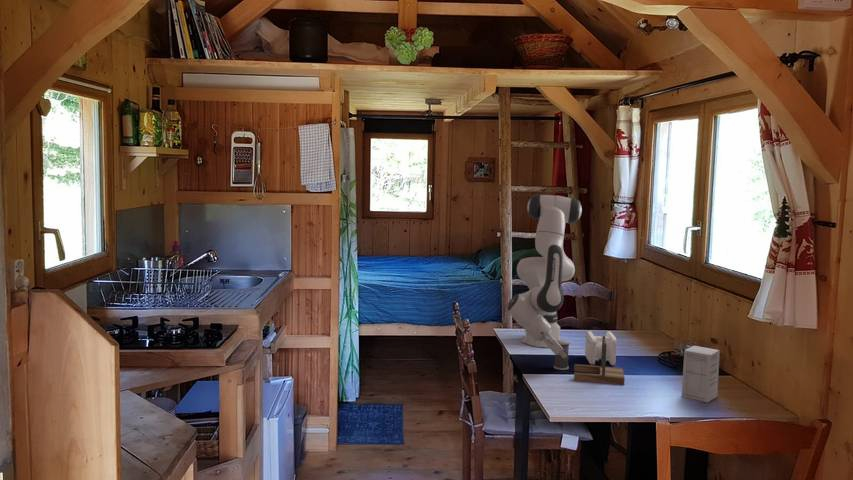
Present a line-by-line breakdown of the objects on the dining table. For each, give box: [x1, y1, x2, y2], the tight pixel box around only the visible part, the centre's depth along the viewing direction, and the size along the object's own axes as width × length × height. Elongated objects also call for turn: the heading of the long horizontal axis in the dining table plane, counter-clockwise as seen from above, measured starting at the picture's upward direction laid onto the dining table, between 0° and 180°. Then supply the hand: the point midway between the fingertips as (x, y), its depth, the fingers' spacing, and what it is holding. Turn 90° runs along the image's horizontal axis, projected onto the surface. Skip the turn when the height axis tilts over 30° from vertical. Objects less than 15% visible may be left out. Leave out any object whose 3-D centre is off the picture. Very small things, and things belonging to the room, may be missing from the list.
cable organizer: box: [584, 330, 617, 366], centre depth 280 cm, size 15×11×12 cm
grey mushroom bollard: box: [553, 339, 571, 371], centre depth 270 cm, size 6×6×11 cm
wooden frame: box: [573, 335, 625, 386], centre depth 260 cm, size 13×18×14 cm
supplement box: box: [681, 345, 721, 403], centre depth 240 cm, size 10×9×17 cm
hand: (563, 354), depth 270 cm, fingers closed on grey mushroom bollard, 5 cm apart
